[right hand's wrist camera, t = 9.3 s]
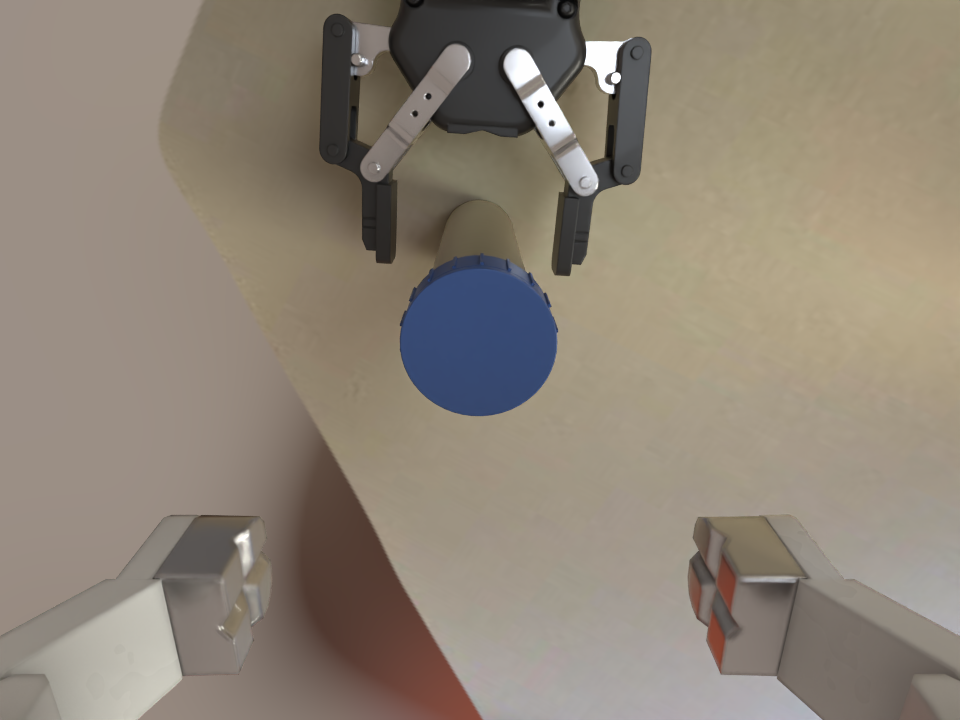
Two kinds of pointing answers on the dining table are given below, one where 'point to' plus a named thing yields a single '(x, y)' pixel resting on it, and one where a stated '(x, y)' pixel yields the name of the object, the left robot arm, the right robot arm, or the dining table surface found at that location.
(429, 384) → the lid
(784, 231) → the dining table surface
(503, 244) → the silver metal cylinder
